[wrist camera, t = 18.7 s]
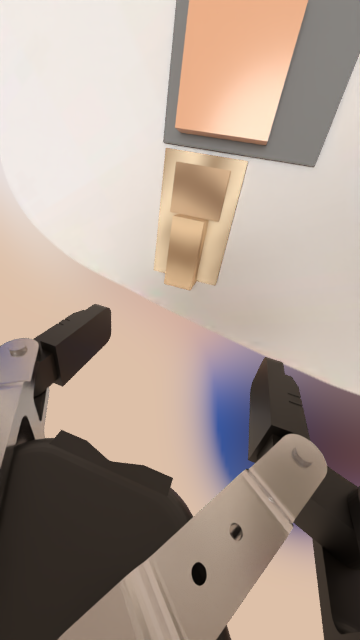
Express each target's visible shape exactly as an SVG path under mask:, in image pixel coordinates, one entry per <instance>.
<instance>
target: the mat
mask: <svg viewBox="0 0 360 640" xmlns="http://www.w3.org/2000/svg"><path fill="white" fill-rule="evenodd" d="M188 6H189V0H176V10H175V21H174V32H173V43H172V53H171V64H170V75H169V86H168V97H167V107H166V118H165V129H164V140H163V142H164V143H168V144H175V145H181V146H187V147H193V148H200V149H206V150H212V151H218V152H224V153H231V154H237V155H243V156H249V157H256V158H262V159H268V160H274V161H280V162H287V163H293V164H299V165H305V166H312V167H314V166H315V164H316V162H317V159H318V157H319V154H320V152H321V149H322V147H323V144H324V142H325V139H326V137H327V134H328V132H329V129H330V127H331V124H332V121H333V119H334V116H335V114H336V111H337V109H338V106H339V104H340V101H341V99H342V96H343V94H344V91H345V89H346V86H347V84H348V81H349V79H350V76H351V74H352V71H353V69H354V66H355V64H356V61H357V59H358V56H359V54H360V0H308V3H307V6H306V10H305V13H304V17H303V20H302V24H301V27H300V31H299V34H298V38H297V41H296V44H295V48H294V51H293V55H292V58H291V62H290V65H289V69H288V72H287V76H286V79H285V82H284V86H283V89H282V93H281V96H280V100H279V103H278V107H277V110H276V114H275V117H274V121H273V124H272V127H271V131H270V134H269V138H268V141H267V144H266V145H259V144H253V143H246V142H239V141H233V140H226V139H220V138H213V137H206V136H200V135H193V134H187V133H180V132H179V131H178V130H177V129H176V128H175V123H176V114H177V105H178V96H179V87H180V78H181V69H182V60H183V51H184V42H185V33H186V24H187V15H188Z"/></svg>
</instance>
